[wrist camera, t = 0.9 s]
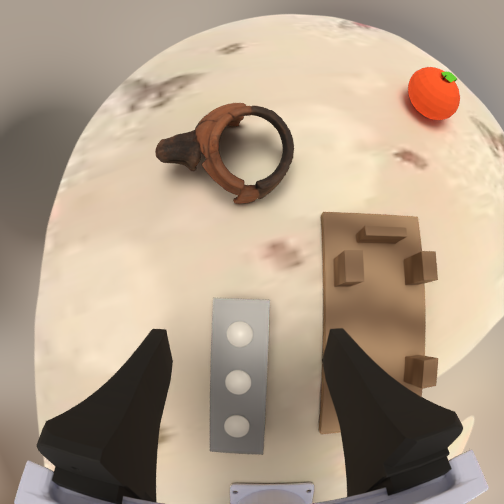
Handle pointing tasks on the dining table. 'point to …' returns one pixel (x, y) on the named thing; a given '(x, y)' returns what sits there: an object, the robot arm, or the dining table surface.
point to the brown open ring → (207, 142)
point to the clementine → (434, 93)
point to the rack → (377, 296)
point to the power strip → (238, 375)
